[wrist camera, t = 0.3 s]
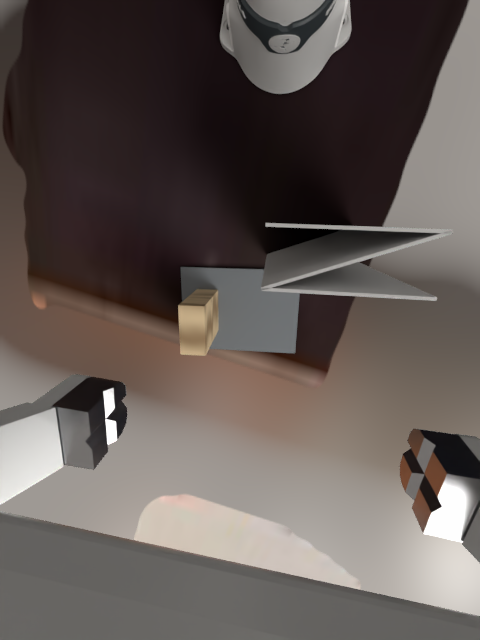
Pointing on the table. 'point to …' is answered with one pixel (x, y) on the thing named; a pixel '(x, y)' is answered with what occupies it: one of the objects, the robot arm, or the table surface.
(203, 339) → the wood block
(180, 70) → the table surface
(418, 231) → the brochure
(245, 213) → the table surface
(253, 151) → the table surface
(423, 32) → the table surface
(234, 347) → the rubber mat
